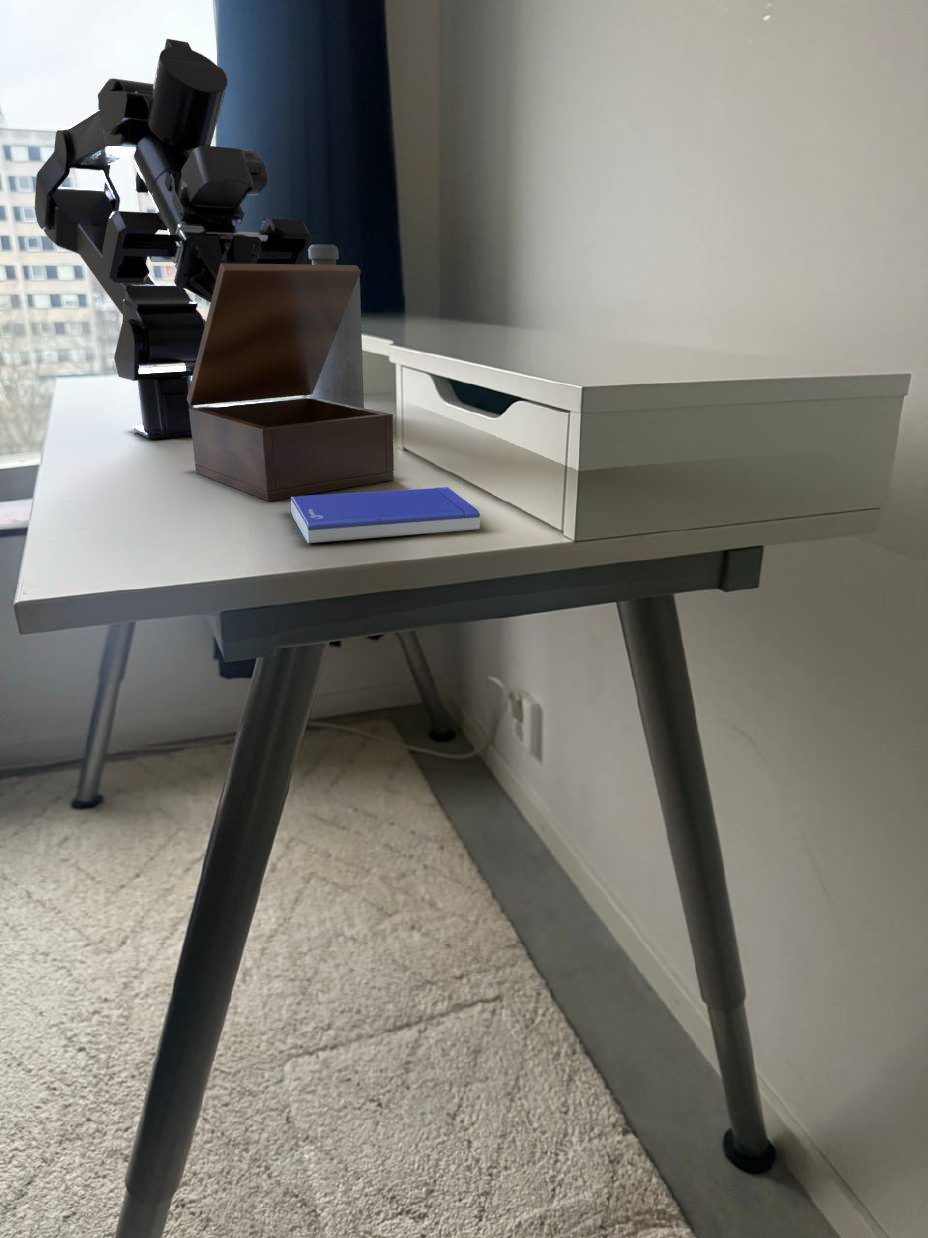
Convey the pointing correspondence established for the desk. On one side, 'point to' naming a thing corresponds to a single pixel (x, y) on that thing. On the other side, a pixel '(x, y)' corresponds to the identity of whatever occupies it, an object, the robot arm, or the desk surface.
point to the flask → (342, 345)
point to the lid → (269, 330)
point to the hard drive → (382, 514)
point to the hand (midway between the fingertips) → (247, 319)
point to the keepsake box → (292, 446)
